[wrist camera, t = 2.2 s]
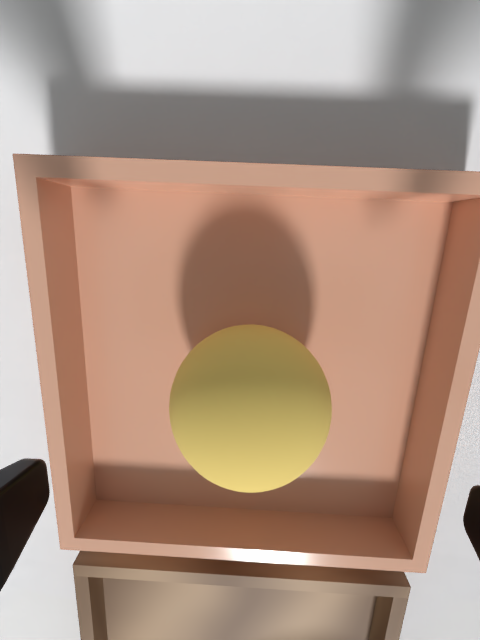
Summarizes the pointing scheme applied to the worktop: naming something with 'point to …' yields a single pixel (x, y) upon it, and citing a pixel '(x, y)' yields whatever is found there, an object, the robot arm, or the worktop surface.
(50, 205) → the dish
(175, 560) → the tray
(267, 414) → the ball
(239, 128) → the worktop surface
